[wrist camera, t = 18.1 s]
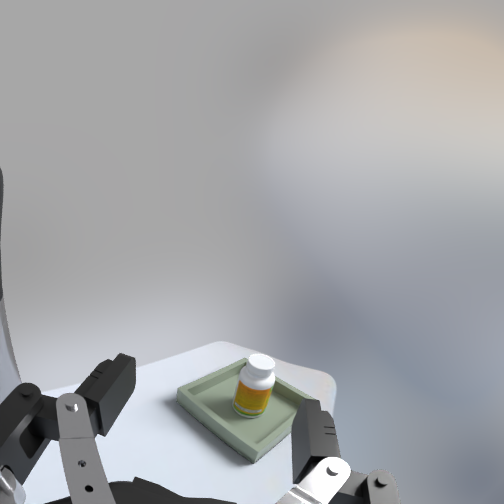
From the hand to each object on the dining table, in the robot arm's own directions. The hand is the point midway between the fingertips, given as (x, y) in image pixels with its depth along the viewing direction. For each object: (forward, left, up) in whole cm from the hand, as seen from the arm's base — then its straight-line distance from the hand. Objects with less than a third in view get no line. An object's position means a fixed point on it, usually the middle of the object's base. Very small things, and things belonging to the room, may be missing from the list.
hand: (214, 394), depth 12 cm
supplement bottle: (-11, +23, -24) cm, 35 cm away
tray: (-11, +23, -25) cm, 36 cm away
